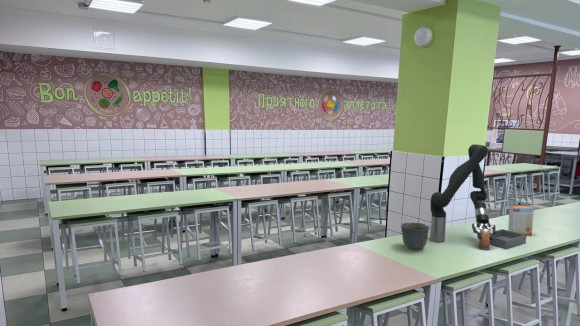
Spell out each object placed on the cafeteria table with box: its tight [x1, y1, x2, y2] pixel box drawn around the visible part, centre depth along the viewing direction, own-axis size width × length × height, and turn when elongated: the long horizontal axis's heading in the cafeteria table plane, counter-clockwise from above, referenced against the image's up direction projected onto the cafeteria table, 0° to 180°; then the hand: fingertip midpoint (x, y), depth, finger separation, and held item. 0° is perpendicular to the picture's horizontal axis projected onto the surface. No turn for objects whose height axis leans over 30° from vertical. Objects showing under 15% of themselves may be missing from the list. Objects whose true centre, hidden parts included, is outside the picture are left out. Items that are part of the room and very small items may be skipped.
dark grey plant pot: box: [400, 222, 431, 250], centre depth 229 cm, size 18×18×15 cm
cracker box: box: [508, 205, 534, 237], centre depth 258 cm, size 14×6×21 cm, turn 84°
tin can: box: [478, 228, 492, 251], centre depth 230 cm, size 6×6×13 cm
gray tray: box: [490, 228, 527, 250], centre depth 241 cm, size 24×16×6 cm, turn 120°
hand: (485, 239), depth 228 cm, fingers closed on tin can, 6 cm apart
